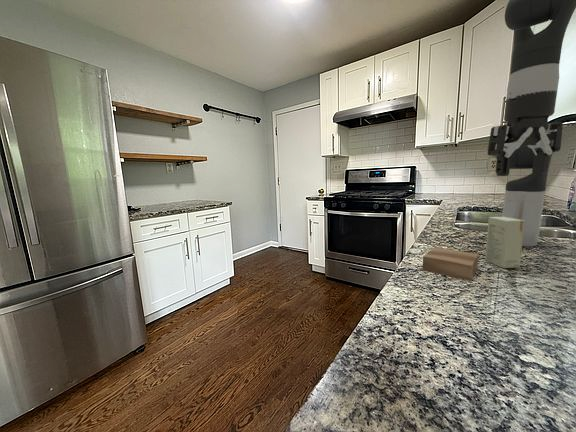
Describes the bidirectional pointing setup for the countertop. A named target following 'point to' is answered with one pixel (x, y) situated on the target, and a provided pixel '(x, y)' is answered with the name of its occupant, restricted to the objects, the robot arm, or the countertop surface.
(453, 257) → the walnut block
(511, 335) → the countertop surface
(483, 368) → the countertop surface
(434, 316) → the countertop surface
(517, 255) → the skincare box
